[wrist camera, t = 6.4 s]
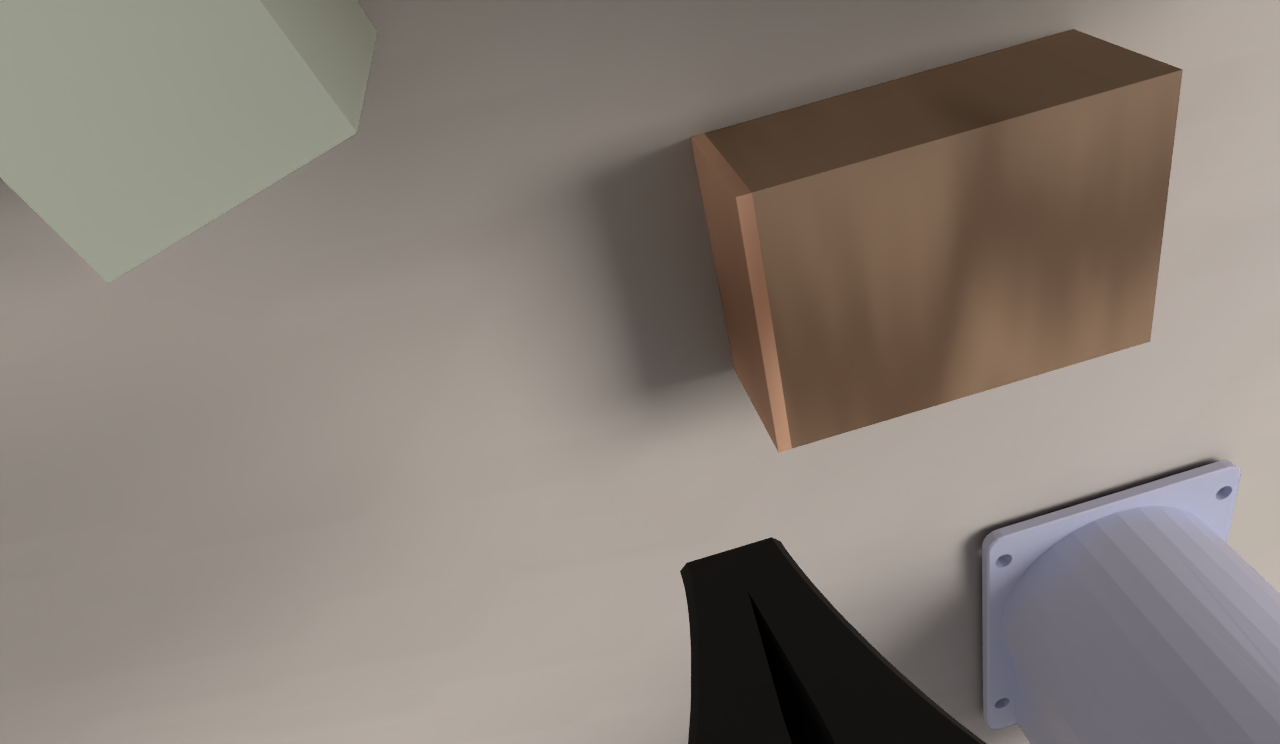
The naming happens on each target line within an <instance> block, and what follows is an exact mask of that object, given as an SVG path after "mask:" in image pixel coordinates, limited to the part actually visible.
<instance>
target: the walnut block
mask: <svg viewBox="0 0 1280 744" xmlns="http://www.w3.org/2000/svg"><path fill="white" fill-rule="evenodd" d="M1181 78H1182V69H1179V68H1176V67H1174V66H1171V65H1168V64H1166V63H1163V62H1160V61H1158V60H1155V59H1152V58H1149V57H1147V56H1144V55H1141V54H1139V53H1136V52H1133V51H1131V50H1128V49H1125V48H1123V47H1120V46H1117V45H1114V44H1112V43H1109V42H1106V41H1104V40H1101V39H1098V38H1096V37H1093V36H1090V35H1088V34H1085V33H1082V32H1079V31H1077V30H1074V29H1073V30H1069V31H1065V32H1062V33H1058V34H1055V35H1051V36H1048V37H1044V38H1041V39H1037V40H1034V41H1030V42H1026V43H1023V44H1019V45H1016V46H1012V47H1009V48H1005V49H1002V50H998V51H994V52H991V53H987V54H984V55H980V56H977V57H973V58H970V59H966V60H963V61H959V62H955V63H952V64H948V65H945V66H941V67H938V68H934V69H931V70H927V71H924V72H920V73H916V74H913V75H909V76H906V77H902V78H899V79H895V80H892V81H888V82H885V83H881V84H877V85H874V86H870V87H867V88H863V89H860V90H856V91H853V92H849V93H846V94H842V95H838V96H835V97H831V98H828V99H824V100H821V101H817V102H814V103H810V104H806V105H803V106H799V107H796V108H792V109H789V110H785V111H782V112H778V113H775V114H771V115H767V116H764V117H760V118H757V119H753V120H750V121H746V122H743V123H739V124H736V125H732V126H728V127H725V128H721V129H718V130H714V131H711V132H707V133H704V134H700V135H697V136H693V137H691V143H692V148H693V153H694V159H695V164H696V169H697V174H698V180H699V185H700V190H701V195H702V201H703V206H704V211H705V217H706V222H707V227H708V232H709V238H710V243H711V248H712V253H713V259H714V264H715V269H716V275H717V280H718V285H719V290H720V296H721V301H722V306H723V311H724V317H725V322H726V327H727V333H728V338H729V343H730V348H731V354H732V359H733V364H734V369H735V371H736V373H737V375H738V377H739V379H740V381H741V382H742V384H743V386H744V388H745V390H746V392H747V394H748V396H749V398H750V399H751V401H752V403H753V405H754V407H755V409H756V411H757V413H758V415H759V416H760V418H761V420H762V422H763V424H764V426H765V428H766V430H767V432H768V433H769V435H770V437H771V439H772V441H773V443H774V445H775V447H776V449H777V450H778V452H782V451H785V450H788V449H792V448H795V447H798V446H802V445H805V444H808V443H812V442H815V441H818V440H822V439H825V438H828V437H832V436H835V435H838V434H842V433H845V432H848V431H852V430H855V429H858V428H862V427H865V426H869V425H872V424H875V423H879V422H882V421H885V420H889V419H892V418H895V417H899V416H902V415H905V414H909V413H912V412H915V411H919V410H922V409H925V408H929V407H932V406H935V405H939V404H942V403H945V402H949V401H952V400H956V399H959V398H962V397H966V396H969V395H972V394H976V393H979V392H982V391H986V390H989V389H992V388H996V387H999V386H1002V385H1006V384H1009V383H1012V382H1016V381H1019V380H1022V379H1026V378H1029V377H1032V376H1036V375H1039V374H1043V373H1046V372H1049V371H1053V370H1056V369H1059V368H1063V367H1066V366H1069V365H1073V364H1076V363H1079V362H1083V361H1086V360H1089V359H1093V358H1096V357H1099V356H1103V355H1106V354H1109V353H1113V352H1116V351H1119V350H1123V349H1126V348H1130V347H1133V346H1136V345H1140V344H1143V343H1146V342H1150V337H1151V329H1152V321H1153V312H1154V304H1155V295H1156V287H1157V279H1158V270H1159V262H1160V254H1161V245H1162V237H1163V229H1164V220H1165V212H1166V203H1167V195H1168V187H1169V178H1170V170H1171V162H1172V153H1173V145H1174V136H1175V128H1176V120H1177V111H1178V103H1179V95H1180V86H1181Z"/></svg>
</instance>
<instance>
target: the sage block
mask: <svg viewBox="0 0 1280 744" xmlns="http://www.w3.org/2000/svg"><path fill="white" fill-rule="evenodd" d="M377 33H378V32H377V30H376V29H375V27H374V26H373V24H372V23H371V21H370V20H369V18H368V17H367V15H366V14H365V12H364V11H363V9H362V8H361V6H360V5H359V4H358V2H357V1H356V0H0V178H1V179H2V180H3V181H4V182H5V183H6V184H7V185H8V186H9V187H10V188H11V189H12V190H13V191H14V192H15V193H16V194H17V195H18V196H19V197H20V198H21V199H22V200H23V201H25V202H26V203H27V204H28V205H29V206H30V207H31V208H32V209H33V210H34V211H35V212H36V213H37V214H38V215H39V216H40V217H41V218H42V219H43V220H44V221H45V222H46V223H47V224H48V225H49V226H50V227H51V228H52V229H53V230H54V231H55V232H56V233H57V234H58V235H59V236H60V237H61V238H62V239H63V240H64V241H65V242H66V243H67V244H68V245H69V246H70V247H71V248H72V249H73V250H74V251H75V252H77V253H78V254H79V255H80V256H81V257H82V258H83V259H84V260H85V261H86V262H87V263H88V264H89V265H90V266H91V267H92V268H93V269H94V270H95V271H96V272H97V273H98V274H99V275H100V276H101V277H102V278H103V279H104V280H105V281H106V282H107V283H110V282H111V281H113V280H115V279H116V278H118V277H120V276H121V275H123V274H124V273H126V272H128V271H129V270H131V269H133V268H134V267H136V266H138V265H139V264H141V263H143V262H144V261H146V260H148V259H149V258H151V257H153V256H154V255H156V254H158V253H159V252H161V251H163V250H164V249H166V248H167V247H169V246H171V245H172V244H174V243H176V242H177V241H179V240H181V239H182V238H184V237H186V236H187V235H189V234H191V233H192V232H194V231H196V230H197V229H199V228H201V227H202V226H204V225H206V224H207V223H209V222H210V221H212V220H214V219H215V218H217V217H219V216H220V215H222V214H224V213H225V212H227V211H229V210H230V209H232V208H234V207H235V206H237V205H239V204H240V203H242V202H244V201H245V200H247V199H249V198H250V197H252V196H253V195H255V194H257V193H258V192H260V191H262V190H263V189H265V188H267V187H268V186H270V185H272V184H273V183H275V182H277V181H278V180H280V179H282V178H283V177H285V176H287V175H288V174H290V173H292V172H293V171H295V170H296V169H298V168H300V167H301V166H303V165H305V164H306V163H308V162H310V161H311V160H313V159H315V158H316V157H318V156H320V155H321V154H323V153H325V152H326V151H328V150H330V149H331V148H333V147H335V146H336V145H338V144H339V143H341V142H343V141H344V140H346V139H348V138H349V137H351V136H353V135H354V134H356V133H357V131H358V126H359V121H360V116H361V112H362V107H363V102H364V97H365V92H366V87H367V82H368V77H369V72H370V68H371V63H372V58H373V53H374V48H375V43H376V38H377Z"/></svg>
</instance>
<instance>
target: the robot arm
mask: <svg viewBox="0 0 1280 744" xmlns="http://www.w3.org/2000/svg"><path fill="white" fill-rule="evenodd" d="M1240 476H1241V470H1240V469H1239V468H1238V467H1237V466H1236V465H1235V464H1233V463H1232V462H1231V461H1228V460H1223V461H1218V462H1214V463H1211V464H1208V465H1205V466H1201V467H1198V468H1195V469H1192V470H1188V471H1185V472H1182V473H1179V474H1175V475H1172V476H1169V477H1166V478H1162V479H1159V480H1156V481H1153V482H1149V483H1146V484H1143V485H1140V486H1136V487H1133V488H1130V489H1127V490H1123V491H1120V492H1117V493H1114V494H1110V495H1107V496H1104V497H1100V498H1097V499H1094V500H1091V501H1087V502H1084V503H1081V504H1078V505H1074V506H1071V507H1068V508H1065V509H1061V510H1058V511H1055V512H1052V513H1048V514H1045V515H1042V516H1039V517H1035V518H1032V519H1029V520H1026V521H1022V522H1019V523H1016V524H1013V525H1009V526H1006V527H1003V528H1000V529H997V530H994V531H992V532H991V533H989V534H988V535H987V536H986V538H985V539H984V541H983V544H982V618H983V717H984V720H985V722H986V723H987V725H988V727H990V728H991V729H1001V728H1005V727H1008V726H1011V725H1014V724H1017V723H1018V725H1019V726H1020V728H1021V730H1022V731H1023V733H1024V734H1025V736H1026V737H1027V739H1028V741H1029V742H1030V744H1280V593H1279V592H1278V591H1277V590H1276V589H1275V588H1274V587H1273V586H1272V585H1271V584H1269V583H1268V582H1267V581H1266V580H1265V579H1264V578H1263V577H1262V576H1261V575H1260V574H1259V573H1258V572H1257V571H1256V570H1255V569H1254V568H1253V567H1251V566H1250V565H1249V564H1248V563H1247V562H1246V561H1245V560H1244V559H1243V558H1242V557H1241V556H1240V555H1239V554H1238V553H1237V552H1236V551H1235V550H1233V549H1232V548H1231V547H1230V546H1229V545H1228V544H1227V540H1228V535H1229V530H1230V525H1231V520H1232V515H1233V510H1234V505H1235V501H1236V496H1237V491H1238V486H1239V481H1240ZM680 572H681V576H682V579H683V583H684V587H685V592H686V597H687V604H688V612H689V622H690V638H691V712H690V726H689V740H688V744H986V743H985V742H983V741H982V740H981V739H979V738H978V737H977V736H976V735H974V734H973V733H972V732H970V731H969V730H968V729H967V728H965V727H964V726H963V725H961V724H960V723H959V722H958V721H956V720H955V719H954V718H953V717H951V716H950V715H949V714H948V713H947V712H945V711H944V710H943V709H942V708H941V707H939V706H938V705H937V704H936V703H935V702H933V701H932V700H931V699H930V698H929V697H928V696H926V695H925V694H924V693H923V692H922V691H921V690H920V689H918V688H917V687H916V686H915V685H914V684H913V683H912V682H911V681H909V680H908V679H907V678H906V677H905V676H904V675H903V674H901V673H900V672H899V671H898V670H897V669H896V668H895V667H894V666H893V665H892V664H891V663H890V662H888V661H887V660H886V659H885V658H884V657H883V656H882V655H881V654H880V653H879V652H878V651H877V650H876V649H875V648H874V647H873V646H872V645H871V644H870V643H869V642H868V641H867V640H866V639H865V638H864V637H863V636H862V635H861V634H860V633H859V632H858V631H857V630H856V629H855V628H854V627H853V626H852V625H851V624H850V623H849V622H848V621H847V620H846V619H845V618H844V617H843V616H842V615H841V614H840V613H839V612H838V611H837V610H836V609H835V608H834V607H833V605H832V604H831V603H830V602H829V601H828V600H827V599H826V598H825V597H824V595H823V594H822V593H821V592H820V591H819V590H818V589H817V588H816V586H815V585H814V584H813V583H812V582H811V581H810V579H809V578H808V577H807V576H806V575H805V573H804V572H803V571H802V570H801V569H800V567H799V566H798V565H797V564H796V562H795V561H794V560H793V558H792V557H791V556H790V554H789V553H788V552H787V550H786V549H785V548H784V546H783V545H782V543H781V542H780V541H778V540H776V539H774V538H772V537H771V538H768V539H765V540H761V541H758V542H755V543H751V544H748V545H745V546H741V547H738V548H735V549H731V550H728V551H725V552H721V553H718V554H715V555H712V556H708V557H705V558H702V559H698V560H695V561H692V562H688V563H686V565H685V566H684V567H683V568H682V570H681V571H680Z"/></svg>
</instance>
